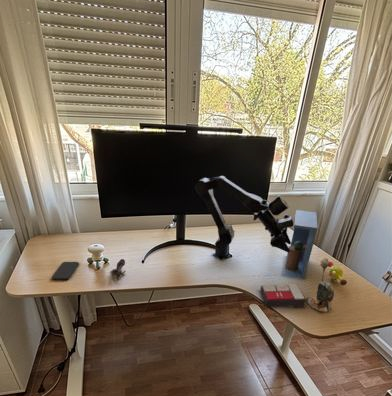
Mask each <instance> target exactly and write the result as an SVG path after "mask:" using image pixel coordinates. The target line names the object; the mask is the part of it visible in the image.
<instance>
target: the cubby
mask: <svg viewBox="0 0 392 396" xmlns="http://www.w3.org/2000/svg"><path fill="white" fill-rule="evenodd" d="M293 223H294V224H293V228H294V229H293V233H292V236H291V240H290V241H291V244H290V246H292V245H294V243H295V242H296V241H301V242H303V245H306V248H302V253H301V257H300V261H299V265H298V269H297V270H288V269H286V268H285V266H284V267H283V268H284V269H283V276H286V277H291V278H296V279H301V280H305V277H306V274H307V269H308V265H309V263H310V258H311V255H312V251H313V247H314V243H315V239H316V236H317V232H318V228H319V227H318V214H317V211H309V210H302V209H296V210H295V215H294V221H293ZM286 258H287V255H286V256H285V259H286ZM285 262H286V260H285V261H284V263H285Z"/></svg>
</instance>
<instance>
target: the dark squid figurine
mask: <svg viewBox="0 0 392 396" xmlns="http://www.w3.org/2000/svg"><path fill="white" fill-rule="evenodd" d="M125 265H126V260H125V259H124V258H122V259H121V258H120V259H119V261H118V262H117V263H116V267H115V268H113V269H112V270H111V271H110V272H109V274H110V275H113V274H115V277H116V278H117V281H119V279H120V278H121V276H125V273H126V270H124V271H122V269H123V267H124V266H125Z"/></svg>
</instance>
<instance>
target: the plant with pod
mask: <svg viewBox="0 0 392 396" xmlns="http://www.w3.org/2000/svg"><path fill="white" fill-rule="evenodd" d="M329 262H330V261H329V259H328V258H327V257H325V258H323V259H322V260H320V264H319V266H320V267H321V268H322V277H321V281H319V283H318V286H317V290H316V296H314V297H307V298H306V300H307V303H308V305H309V306H310V307H311V308H313V309H315V310H316V311H318V312H320V313H321V312H322V313H324V312H328V313H330V312H331V310H332V308H331V307H330V305H329V303H330V302H333V300H334V297H335V290H334V287H333V286H332V284H331V283H330V282H328V281H325V280H324V275H325V270H326V269H327V268H328V265H329Z"/></svg>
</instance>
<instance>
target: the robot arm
mask: <svg viewBox="0 0 392 396" xmlns="http://www.w3.org/2000/svg"><path fill="white" fill-rule="evenodd" d="M216 188H221V189H222V190H223V191H225V192H227V193H228V194H230V195H231V196H233V197H234V198H236V199H237V200H239V201H240V202H241V203H242V204H243V205H244V206H245V208H246V209H247V210H248V211H249V212H251V214H252V213H253V219H252V220H253V221H256V220H257V219H258V221H260V222H261V224H262V225H263V226H264V230H265V231H267V232H268V233H269V234H270V235H269V236H270V237H271V238H270V241H269V242H270V243H269V244H270V246H271V247H272V248H277V249H279V250H282V251H283V252H285V253H289V252H290V250H289V246H291V241H292V240H291V239H290V237H289V234H288V229H289V228H293V227H294V220H293V217H292V215H291V216H290V214H288V213H286V214H284V216H283V218H281V219H279V218H277V217H278V216H280V215H281V214H282V213H284V212H285V211H286V210H288V209H289V208H290V206H289V204H288V202H287V201H286V200H285V199H284V198H283V197H281V195H280V194H278V195H277V196H276V197H275V198H274V199H273V200H272V201H269V200H266V199H263V198H262V197H261V196H259V195H256V194H254V193H249V192H247V191H246V190H244V189H243V188H241V187H240V186H238V185H237V184H235V183H234V182H232V181H231V180H229V179H227V177H226V176H224V175H220V176H215V177H209V178H207V177H202V178H201V179H199V180H197V182H195V186H194V189H195V192H196V193H197V194H198V196H199V197H200V198H201V199H202V200H203V201H204V202H205V204H206V207H207V209H208V211H209V213H210V215H211V218H212V220H213V221H214V224H215V225H216V229H217V234H218V238H217V239H216V241H215V242H214V246H215V248H214V249H215V250H214V253H212V256H213V257H215V258H217V259H219V260H221V261H222V260H224V259H227V258H231V255H230V244H232V242H233V240H234V238H235V232H236V231H235V230H234V229H233V225H232V224H230V225H228V224H227V222H226V220H225V218H224V216H223V213H222V211H221V209H220V207H219V205H218V202H217V200H216V198H215V196H214V189H216ZM275 216H277V217H275ZM288 245H289V246H288Z"/></svg>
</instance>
